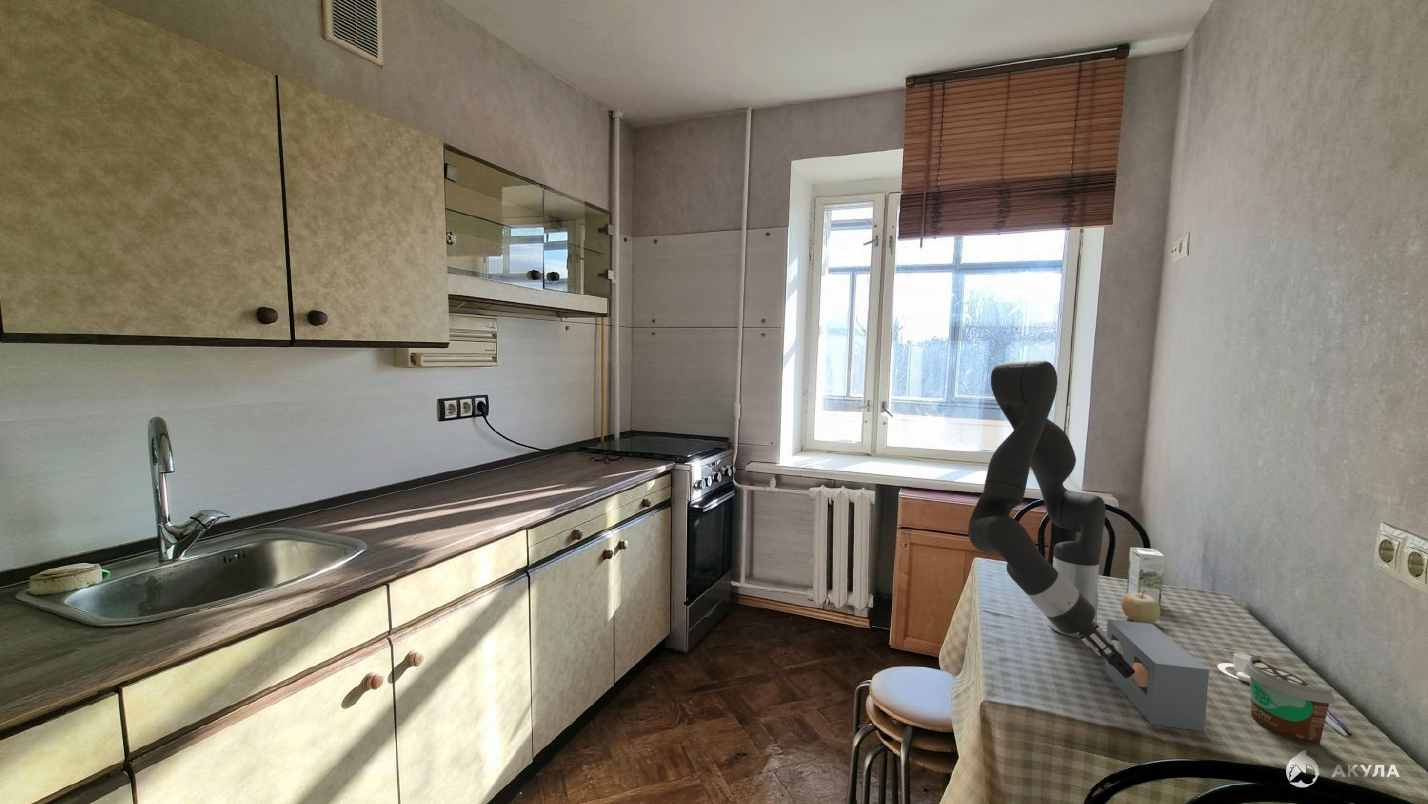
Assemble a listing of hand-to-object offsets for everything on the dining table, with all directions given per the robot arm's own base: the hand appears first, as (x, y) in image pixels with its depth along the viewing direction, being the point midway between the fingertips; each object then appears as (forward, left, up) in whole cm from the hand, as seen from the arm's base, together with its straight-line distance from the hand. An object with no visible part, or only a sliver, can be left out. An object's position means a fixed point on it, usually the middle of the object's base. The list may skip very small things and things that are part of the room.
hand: (1128, 673), depth 103 cm
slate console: (-7, 0, -7) cm, 10 cm away
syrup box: (-58, -26, -7) cm, 64 cm away
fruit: (-44, -20, -7) cm, 49 cm away
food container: (-18, +14, -7) cm, 24 cm away
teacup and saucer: (-34, +2, -7) cm, 34 cm away
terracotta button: (-3, +2, -2) cm, 4 cm away
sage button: (-8, -5, -2) cm, 10 cm away
